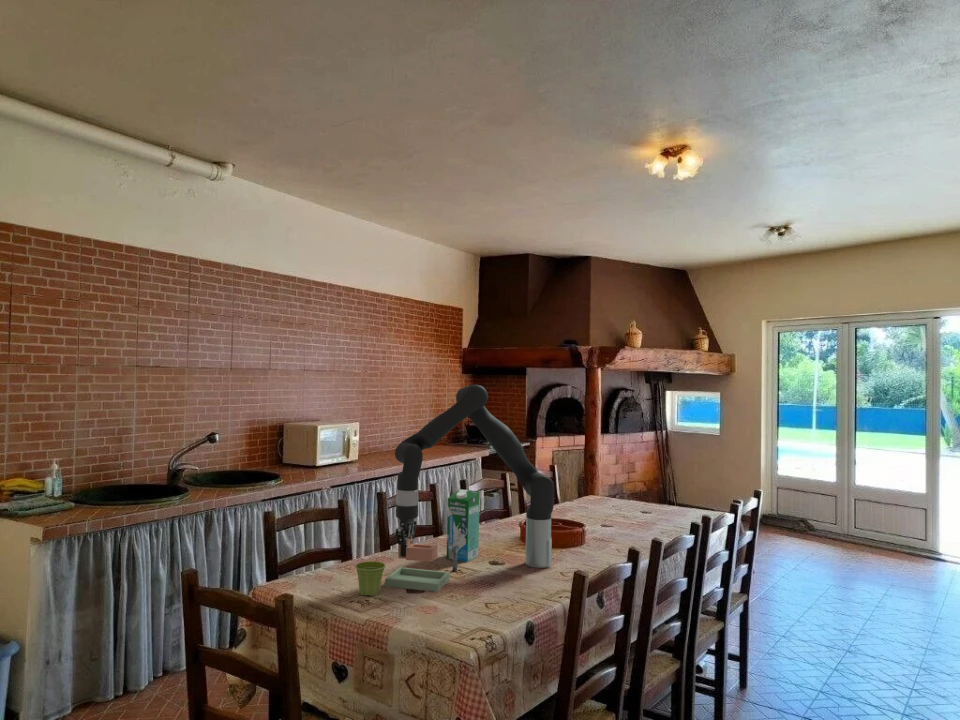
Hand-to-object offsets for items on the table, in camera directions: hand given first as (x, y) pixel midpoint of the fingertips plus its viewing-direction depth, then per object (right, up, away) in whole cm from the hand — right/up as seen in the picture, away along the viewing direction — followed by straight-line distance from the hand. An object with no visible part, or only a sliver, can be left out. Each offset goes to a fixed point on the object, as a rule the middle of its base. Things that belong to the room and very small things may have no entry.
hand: (405, 554), depth 206 cm
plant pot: (-10, -8, -12) cm, 18 cm away
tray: (+4, -9, -1) cm, 10 cm away
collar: (+4, -1, -1) cm, 4 cm away
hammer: (+16, -10, +12) cm, 22 cm away
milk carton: (+18, -10, +29) cm, 36 cm away
